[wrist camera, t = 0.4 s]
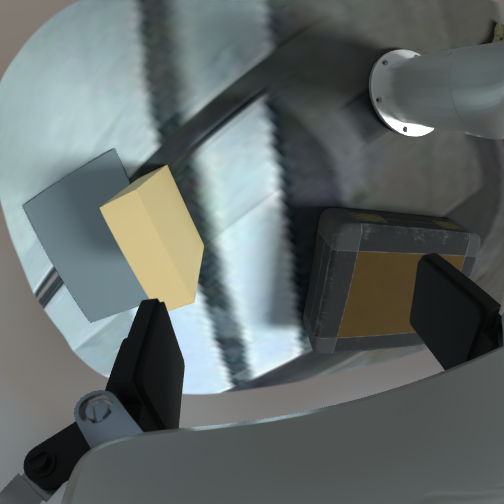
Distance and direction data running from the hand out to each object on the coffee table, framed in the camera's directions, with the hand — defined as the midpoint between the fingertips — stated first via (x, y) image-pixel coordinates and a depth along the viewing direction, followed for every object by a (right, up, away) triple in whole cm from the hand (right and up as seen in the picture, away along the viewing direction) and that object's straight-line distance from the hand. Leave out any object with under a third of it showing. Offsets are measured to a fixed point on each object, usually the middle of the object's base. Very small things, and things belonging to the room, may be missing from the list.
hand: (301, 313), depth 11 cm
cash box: (+19, -1, +36) cm, 41 cm away
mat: (-24, +3, +31) cm, 39 cm away
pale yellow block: (-12, +7, +30) cm, 33 cm away
